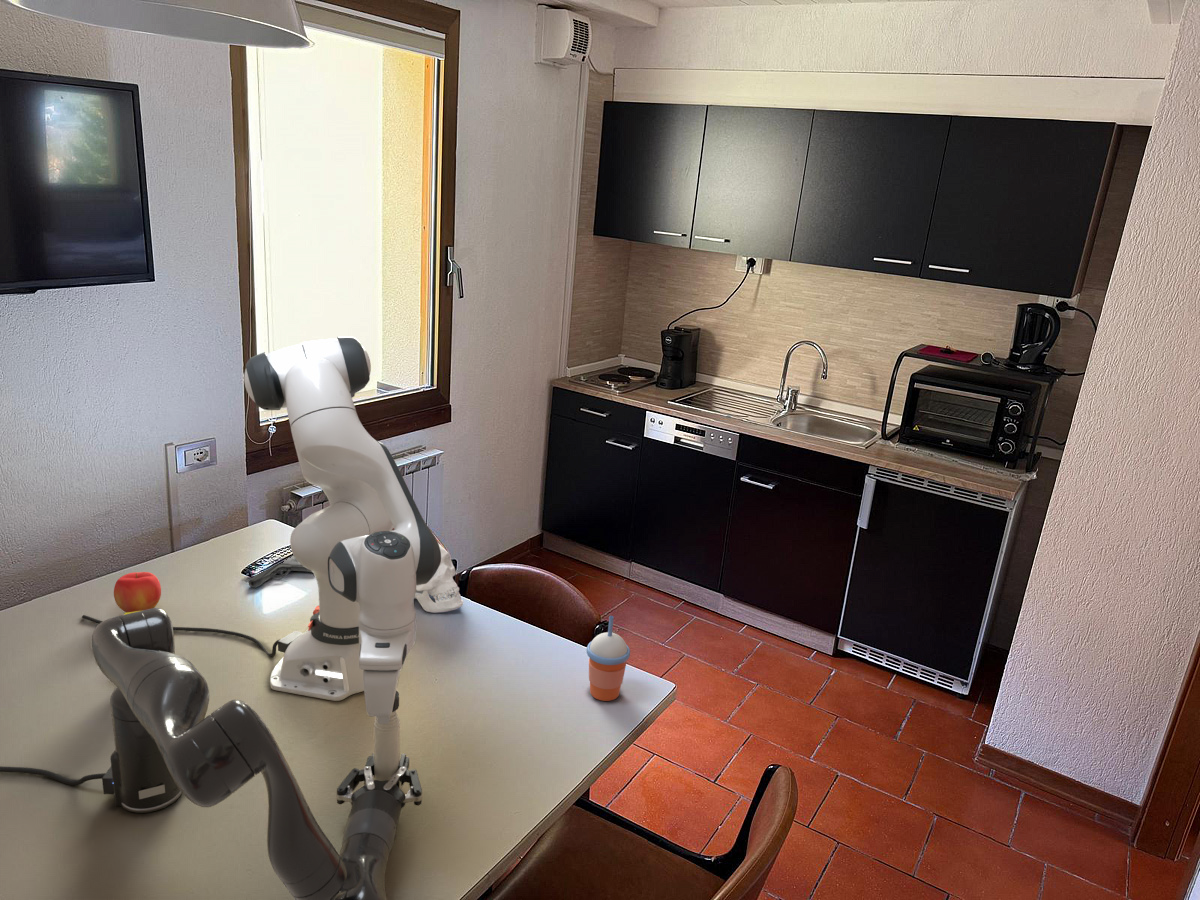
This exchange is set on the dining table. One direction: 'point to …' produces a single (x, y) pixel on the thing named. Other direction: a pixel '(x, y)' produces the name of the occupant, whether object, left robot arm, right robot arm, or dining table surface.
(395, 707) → the cap
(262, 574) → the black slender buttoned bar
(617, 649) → the cup with straw
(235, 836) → the dining table surface
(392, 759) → the bottle
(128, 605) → the apple
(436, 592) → the skull
